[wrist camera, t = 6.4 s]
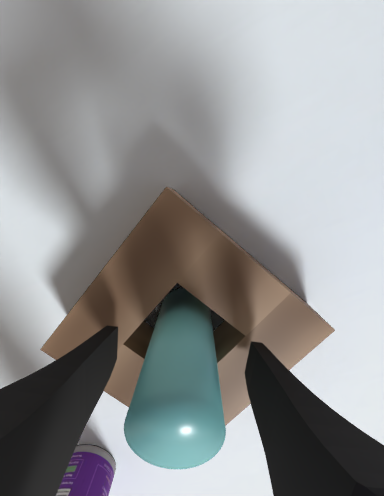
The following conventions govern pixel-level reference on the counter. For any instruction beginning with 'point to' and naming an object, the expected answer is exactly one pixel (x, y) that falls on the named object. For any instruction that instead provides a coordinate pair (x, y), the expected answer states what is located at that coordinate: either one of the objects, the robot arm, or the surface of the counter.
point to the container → (88, 473)
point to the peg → (178, 389)
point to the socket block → (198, 284)
